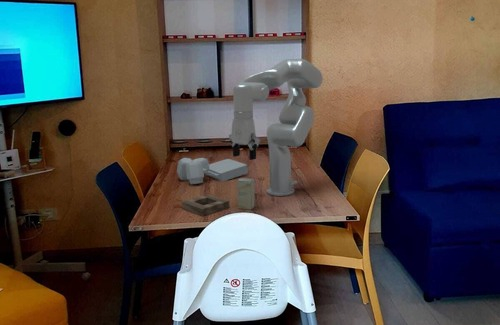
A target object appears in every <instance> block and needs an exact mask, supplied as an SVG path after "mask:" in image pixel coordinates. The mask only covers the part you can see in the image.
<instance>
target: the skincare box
mask: <svg viewBox="0 0 500 325" xmlns="http://www.w3.org/2000/svg"><path fill="white" fill-rule="evenodd" d="M236 185H237V186H236V187H237V188H236V189H237V209H243V210H252V209H254V208H255V178H245V177H240V178H239V179H237V182H236Z"/></svg>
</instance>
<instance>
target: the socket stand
mask: <svg viewBox="0 0 500 325" xmlns="http://www.w3.org/2000/svg"><path fill="white" fill-rule="evenodd" d="M181 208H182V210H185V211H188V212H190V213H192V214H196V215H199V216H201V217H205V216H208V215H211V214H214V213H218V212H221V211H223V210H227V209H229V208H230V200H228V199H226V198H221V197H218V196H215V195H212V194H209V193H207V194H204V195H201V196H197V197H194V198H191V199H186V200H184V201H181Z"/></svg>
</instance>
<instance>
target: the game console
mask: <svg viewBox="0 0 500 325" xmlns="http://www.w3.org/2000/svg"><path fill="white" fill-rule="evenodd" d="M248 166H249V165H248V164H246V163H243V162H240V161H237V160H234V159H231V158H226V159H223V160H222V159H221V160H220V161H219V160H218V161H216V162H213V163H209V159H208V158H205V157H199V158H198V157H197V158H195V159H192V158H190V157H183V158H181V159H179V160H178V161H177V168H176V173H177V174H178V175H177V176H178V178H179V179H180V180H181V181H189V184H190V185H196V184H202V183H203V182H204V178H205V176H207V175H208V176H207V177H209V176H210V178H212V179H214V180H217V181H220V182H225V181H228V180H231V179H235V178H238V177H241V176H243V175H246V174H249V168H248ZM204 174H205V175H204Z"/></svg>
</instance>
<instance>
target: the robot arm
mask: <svg viewBox="0 0 500 325" xmlns="http://www.w3.org/2000/svg"><path fill="white" fill-rule="evenodd" d="M323 79H324V78H323V74H322V72H321V70H320V69H318V67H316V66H315V65H314V64H312V63H311V62H310V61H308V60H307V59H303V58H287V59H283V60H281V61H280V62H278V63H277V64H275V65H274V66H273V67H271V68H269V69H267V70H264V71H261V72H258V73H255V74H252V75H249V76H248V77H247V76H246V77H245V78H244V79H242V80H241V81H239V82H238V83H237V84H235V85H234V86H233V88H232V89H233V90H232V95H233V96H232V98H233V118H232V121H231V133H230V134H228V138H229V143H231V147H232V156H233V157H234V158H235V157H240V154H241V152H240V151H241V150H240V145H241V146H247V147H249V150H248V153H249V155H248V156H249V157H248V158H249V160H250V161H252V160H256V159H257V150H258V147H259V146H260V142H261V139H260V138H259V137H258V136H256V134H257V133H256V126H255V121H254V113H253V111H254V109H253V108H254V106H253V105H254V104H253V103H254V102H264V101H265V100H267V99H268V97H269V96H270V91H271V90H273V89H274V90H275V89H278V88H280V87H281V86H283V85H284V84H285V83H286V84H287V87H288V89H287V90H288V97H287V99H286V101H285V102H284V104H283V107H282V108H281V110H280V112H279V116H278V121H279V122H280V123H279V122H278V123H272V124H270V125H269V127H268V128H267V130H266V140H267V145H268V151H269V152H268V154H269V155H268V156H269V188H267V189H266V194H268V195H269V196H274V197H285V196H291V195H294V193H295V189H294V187H293V186H296V185H298V181H297V180H294V181H292V172H291V171H292V170H291V169H292V168H291V166H292V165H291V160H292V157H291V156H292V155H291V151H290V148H289V147H293V148H294V147H295V148H299V147H300V146H302V145H303V144H304V142H305V141H306V139H307V137H308V135H309V132H310V130H311V128H312V126H313V124H314V122H315V121H314V120H315V113H314V110H313V108H312V107H311V106H308V105H306V103H307V99H306V95H305V93H304V92H303V89H317V88H319V87H320V86H322V83H323Z"/></svg>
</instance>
